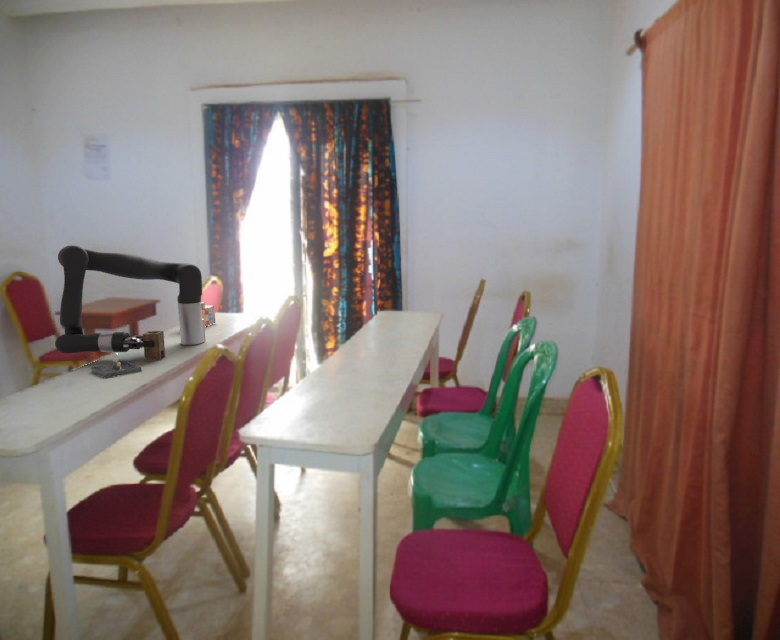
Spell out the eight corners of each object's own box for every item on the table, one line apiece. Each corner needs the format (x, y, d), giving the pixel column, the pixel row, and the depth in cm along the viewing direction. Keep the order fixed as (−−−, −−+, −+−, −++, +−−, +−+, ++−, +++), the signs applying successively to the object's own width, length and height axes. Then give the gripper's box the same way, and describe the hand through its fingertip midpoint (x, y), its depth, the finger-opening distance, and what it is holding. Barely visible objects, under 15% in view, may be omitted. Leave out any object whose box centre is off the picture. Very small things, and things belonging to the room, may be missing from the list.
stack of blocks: (204, 323, 291) (202, 299, 289) (215, 324, 290) (214, 299, 287) (181, 332, 270) (179, 305, 268) (193, 332, 269) (191, 306, 267)
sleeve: (144, 360, 218) (142, 334, 216) (150, 356, 224) (148, 331, 222) (160, 360, 218) (158, 333, 217) (165, 356, 224) (163, 330, 222)
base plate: (91, 371, 203) (89, 353, 202) (126, 365, 211) (124, 347, 210) (105, 378, 195) (103, 359, 194) (141, 371, 203) (139, 352, 202)
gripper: (105, 336, 212) (150, 335, 212) (121, 328, 226) (164, 327, 226) (107, 356, 213) (152, 355, 214) (123, 347, 227) (165, 346, 228)
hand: (158, 341), depth 220 cm, fingers open, 8 cm apart
